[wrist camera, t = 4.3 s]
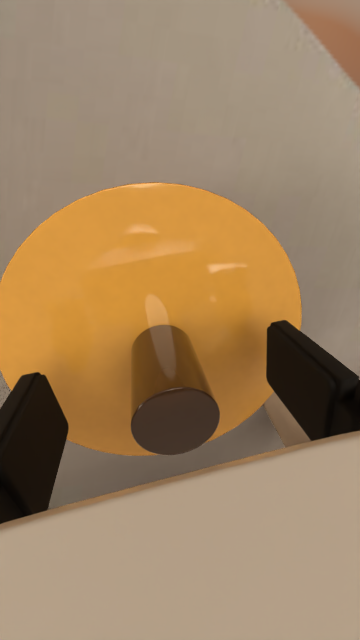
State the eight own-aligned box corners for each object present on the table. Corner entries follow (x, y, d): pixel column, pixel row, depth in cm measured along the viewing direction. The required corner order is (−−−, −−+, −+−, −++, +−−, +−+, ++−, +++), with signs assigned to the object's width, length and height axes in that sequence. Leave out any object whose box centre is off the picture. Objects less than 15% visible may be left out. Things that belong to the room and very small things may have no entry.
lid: (249, 119, 10) (371, 36, 5) (308, 379, 17) (386, 458, 12) (-78, 276, 10) (-278, 350, 5) (106, 470, 17) (96, 585, 12)
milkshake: (245, 415, 28) (297, 513, 19) (269, 377, 27) (338, 466, 18) (278, 421, 30) (341, 515, 21) (302, 385, 28) (382, 472, 19)
